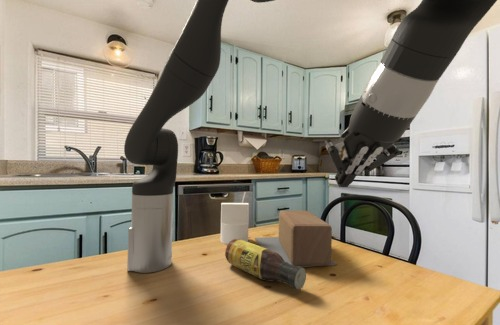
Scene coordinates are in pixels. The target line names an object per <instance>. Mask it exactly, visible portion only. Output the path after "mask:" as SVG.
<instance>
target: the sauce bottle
mask: <svg viewBox="0 0 500 325" xmlns="http://www.w3.org/2000/svg"><path fill="white" fill-rule="evenodd" d="M226 245H227V246H226V248H225V252H224V253H225V254H224V256H225V260H226V261H227V262H228V263H229V264H231V265H232V266H234V267H235V268H238V269H240V270H241V271H244V272H246V273H248V274H250V275H253V276H254V277H256V278H259V279H260V280H262V281H269V282H275V283H276V282H281V283H284V284H287V285H289V286H290V287H291V288H293V289H296V290H301V289H302V288H304V286H305V282H306V280H307V271H306V269H305V267H300V266H294V265H291V264H289V263H288V262H285V261H284V260H283V258H282V257H281V256H280V255H279V254H278V253H276V252H273V251H271V250H269V249H266V248H263V247H260V246H259V244H258V245H257V244H254V243H251V242H249V241H248V242H247V241H244V240H240V239H234V240H232V241H230V242H229V244H226Z"/></svg>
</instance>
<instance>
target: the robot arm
mask: <svg viewBox="0 0 500 325" xmlns="http://www.w3.org/2000/svg"><path fill="white" fill-rule="evenodd" d="M250 1H251V2H253V3H258V4H259V3H260V4H261V3H268V2H273V1H275V0H250ZM497 1H498V0H421V2H420V3H419V4H418V6H417V7H416V8H415V9H413V10H412V11H410V12H409V13H408V14H407V15H406V16H405V17H404V18H403V19H402V20H401V21H400V23H399V24H398V27H397V28H396V30H395V31H394V33H393V36H392V37H391V40H390V42H389V44H388V45H387V47H386V49H385V51H384V53H383V56H382V57H381V59H380V61H379V63H378V64H377V66H376V68H375V69H374V70H373V72H372V74H371V76H369V79H368V81H367V83H366V84H365V87H364V89H363V91H362V93H361V96H360V97H359V99H358V101H357V103H356V105H355V107H354V109H353V111H352V113H351V116H350V119H349V123H348V127H347V128H346V129H345V130H344V131H343V132H342V133H341V134H340V137H339V138H337V139H335V140H332V139H329V138H328V139H326V140H325V141H324V143H323V145H324V146H325V148H326V150H327V153H328V154H329V157H330V159H331V161H332V162H333V164H334V166H335V168H336V170H337V172H336V174H335V176H334V180H335V182H336V184H337V185H338V187H339V188H348V187H349V186H350V185H351V184H352V183H353V181H354V180H355V178H356V177H357V175H361V173H362V172H363V171H365V172H366V173H370V172H371V171H373V170H375V169H377V168H379V167H380V166H382V165H383V164H386V163H387V162H389V161H390V160H392V159H394V158H395V157H397V156H399V155H400V153H401V151H400V150H399V148H398V147H397V146H396V145H395V142H397V141H399V140H400V139H401V138H402V136H403V135H404V134H405V132H406V131H407V129H408V128H409V126H410V125H411V124H412V122H413V121H414V119H415V118H416V117H417V115H418V114H419V113H420V111H421V109H423V106H424V105H425V104H426V102H428V99H429V98H430V96H431V95H432V93H433V91H434V89H435V87H436V85H437V83H438V82H439V80H440V78H441V77H442V76H443V75H444V73H445V71H446V70H447V68H448V67H449V66H450V64H451V63H452V62H453V60H454V59H455V57H456V55H458V52H459V51H460V49H461V48H462V46H463V45H464V43H465V42H466V40H467V38H468V37H469V35H470V34H471V32H472V31H473V30H474V28H475V27H476V26H477V25H478V23H479V22H480V21H481V20H482V19H483V18H484V17H485V16H486V15H487V13H488V12H490V9H492V7H493V6H494V5H495V4H496V3H497ZM228 3H229V0H196V1H195V4H194V6H193V8H192V10H191V11H190V12H191V13H190V14H189V16H188V19H187V20H186V23H185V25H184V27H183V29H182V31H181V33H180V35H179V37H178V39H177V40H176V43H175V44H174V46H173V48H172V50H171V52H170V54H169V56H168V58H167V61H166V62H165V65H164V66H163V70H162V72H161V74H160V76H159V78H158V80H157V82H156V84H155V86H154V88H153V90H152V93H151V94H150V96H149V97H148V100H147V102H145V105H144V107H143V108H142V110H141V111H140V112H139V114H138V115H137V117H136V119H135V120H134V122H133V124H132V125H131V127H130V129H129V131H128V133H127V135H126V137H125V141H124V146H123V147H124V149H123V150H124V152H123V153H124V157H125V158H126V160H127V161H128V162H129V163H131V164H134V165H140V166H152V170H151V172H150V173H149V174H147V175H146V176H144V177H143V178H139V179H138V180H135V181H134V182H133V183H132V185H131V186H132V187H131V222H130V223H131V224H130V225H131V226H129V228H128V231H127V261H126V262H127V265H126V266H127V269H126V270H127V272H134V273H135V272H136V273H142V274H147V273H149V274H150V273H155V272H159V271H162V270H165V269H167V268H168V267H170V266H171V265H172V259H173V223H174V222H173V221H174V219H173V218H174V216H173V213H174V211H173V210H174V187H175V183H176V180H177V173H178V171H177V169H178V156H179V142H178V138H177V134H176V133H175V132H174V131H173V130H172V129H169V128H163V127H164V126H165V125H166V124H167V123H168V121H169V120H170V119H172V118H173V117H174V116H176V115H178V113H180V112H182V111H184V110H185V109H186V108H188V107H190V106H191V105H192V104H194V103H195V102H197V101H198V100H199V99H201V98H202V96H204V94H205V92H206V91H207V89H208V88H209V86H210V84H211V83H212V81H213V79H214V78H215V76H216V75H217V72H218V70H219V68H220V65H221V56H222V55H221V53H222V51H221V50H222V23H223V17H224V14H225V12H226V11H225V10H226V8H227V5H228ZM342 150H343V151H342ZM340 155H343V156H342V158H341V156H340ZM375 159H376V160H375ZM374 160H375V161H374Z"/></svg>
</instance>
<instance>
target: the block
mask: <svg viewBox="0 0 500 325" xmlns="http://www.w3.org/2000/svg"><path fill="white" fill-rule="evenodd" d="M332 233H333V231H332V225H330V224H329V223H327V222H326V221H324V220H323V219H321V218H319V217H318V216H316V215H315V214H313V213H312V212H310V211H308V210H280V211H279V212H278V237H279V241H280V243H281V245H282V247H283V248H284V250H285V252H286V254H287V256H288V258H289V259H290V261H291V263H292V264H293V265H329V266H331V265H330V264H331V260H332V240H333V238H332V237H333V236H332V235H333V234H332Z"/></svg>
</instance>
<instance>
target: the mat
mask: <svg viewBox="0 0 500 325" xmlns="http://www.w3.org/2000/svg"><path fill="white" fill-rule="evenodd" d="M254 240H255V241H256V242H257V244H258V246H260V247H263V248H266V249H269V250H271V251H273V252H276V253H278V254H279V255H280V256H281V257H282V258H283V260H284V261H285V262H288V263H289V264H291V265H293V264H292V263H291V261H290V259H289V258H288V256H287V254H286V252H285V250H284V248H283V247H282V245H281V243H280V241H279V236H269V237H268V236H267V237H266V236H265V237H264V236H263V237H254ZM337 265H338V264H337V262H335V261H334V260H332V259H331V264H330V265H294V266H300V267H302V268H307V267H308V268H309V267H324V266H326V267H327V266H337Z"/></svg>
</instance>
